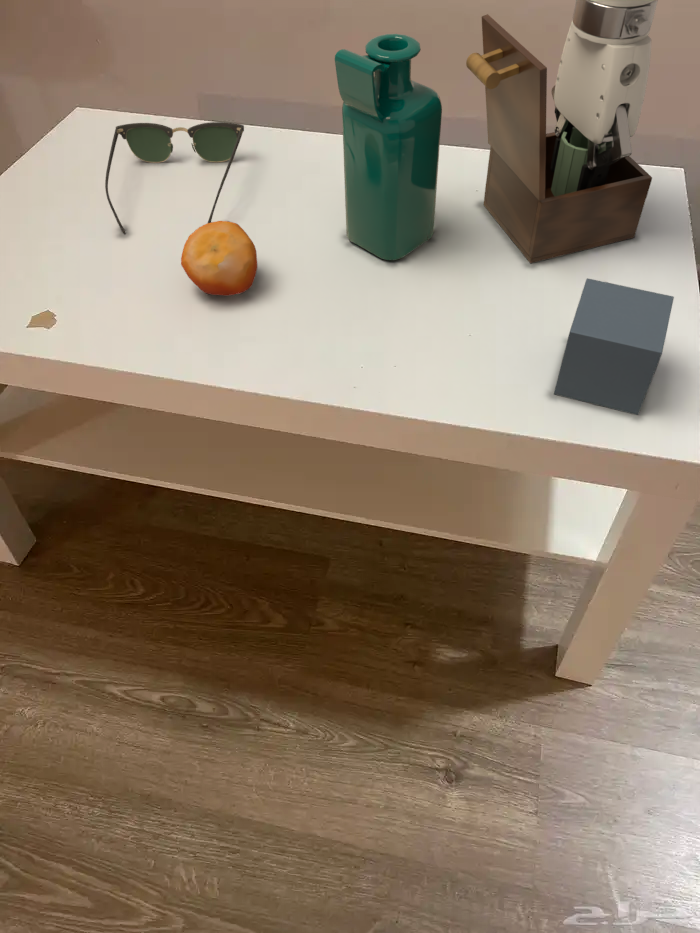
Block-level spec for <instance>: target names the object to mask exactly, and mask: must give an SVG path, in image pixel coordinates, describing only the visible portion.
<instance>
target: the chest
mask: <svg viewBox="0 0 700 933" xmlns="http://www.w3.org/2000/svg"><path fill="white" fill-rule="evenodd" d="M556 138H559V137H556V135H555V131H552V132H546V173H545V199H543V200H540V201H539V200H538V199H537V198H536V197H535V196H534V194H533V193H532V192H531V191H530V190H529V189H528V188H527V186H526V185H525V184H524V183H523V182H522V181H521V180H520V179H519V177H518V176H517V175H516V174H515V173H514V172H513V171H512V170H511V168H510V167H509V166H508V165H507V164H506V163H505V162H504V161H503V159H502V158H501V157H500V156H499V155H498V154H497V153H496V151H495V150H494V149H493V148H492V147H491V146H490V145H489V146H490V148H489V155H488V163H487V172H486V179H485V187H484V196H483V206H484V208H485V209H486V210H487V211H488V213H489V214H490V215H491V216H492V217H493V219H494V220H495V221H496V222H497V224H498V225H499V226H500V228H501V229H502V230H503V231H504V232H505V234H506V235H507V236H508V238H509V239H510V240H511V241H512V242H513V244H514V245H515V246H516V248H517V249H518V250H519V251H520V253H521V254H522V255H523V256H524V258H525V259H526V260H527V262H529V264H534V263H538V262H541V261H546V260H549V259H553V258H554V259H555V258H557V257H562V256H565V255H570V254H573V253H578V252H582V251H586V250H590V249H595V248H599V247H603V246H607V245H610V244H614V243H618V242H623V241H626V240H630V239H634V238H635V237H636V233H637V230H638V227H639V223H640V220H641V217H642V213H643V210H644V207H645V203H646V200H647V198H648V194H649V190H650V187H651V184H652V180H653V177H652V176H651V175H650V174H649V172H647V171H646V170H645V169H644V168H643V167H642V166H641V165H640V164H639V163H638V162H636V161H635V160H634V159H633V158H632V157H631V155H630V156H628V157H625V158H622V159H620V160H618V161H616V162H615V163H614V164H613V165H610V168H609V172H608V175H607V179H606V183H605V185H602V186H597V187H593V188H589V189H585V190H580V191H576V192H572V193H567V194H563V195H559V196H554V195H553V193H552V191H551V187H552V182H553V177H554V172H552V171H551V169H550V167H551V162H552V157H553V151H554V146H555V141H556Z"/></svg>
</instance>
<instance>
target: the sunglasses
mask: <svg viewBox="0 0 700 933" xmlns="http://www.w3.org/2000/svg"><path fill="white" fill-rule="evenodd" d="M177 132H185V133H187V134H188V136H189V138H190V139H192V142H191V143H190V144H191V147H192V150H193V152H194V153H196V154H197V155H198V156H199V157H200V158H201V159H202V160H204V161H206V162H210V163H224V162H227V161H228V164H227V166H226V169H225V172H224V174H223V177H222V178H221V182H220V185H219V187H218V191H217V193H216V196H215V199H214V203H213V206H212V209H211V211H210V215H209V218H208V221H207V223H211V222H212V220H213V217H214V212H215V209H216V206H217V203H218V200H219V197H220V194H221V192H222V190H223V187H224V185H225V182H226V179H227V177H228V174H229V171H230V168H231V167H232V166H231V165H232V163H233V161H234V158H235V155H236V153H237V149H238V147H239V145H240V142H241V140H242V136H243V133H244V132H245V125H244V124H240V123H235V122H225V121H211V122H204V123H199V124H195V125H193V126H191V127H189V128H186V127H181V126H179V127H178V126H177V127H175V128H172V127H170V126H168V125H164V124H160V123H155V122H154V123H153V122H134V123H133V122H131V123H125V124H120V125H116V126H115V130H114V133H113V138H112V141H111V146H110V151H109V156H108V161H107V166H106V173H105V183H104V186H105V187H104V189H105V195H106V199H107V202H108V205H109V207H110V209H111V212H112V214H113V216H114V218H115V220H116V222H117V224H118V227H119V228H120V230H121V233H122V234H125V233H126V231H125V228H124V226H123V224H122V223H121V221H120V219H119V216H118V215H117V212H116V210H115V208H114V205H113V203H112V200H111V198H110V194H109V180H110V179H109V178H110V171H111V166H112V162H113V157H114V154H115V148H116V145H117V141H118V138H119V135H120V136H121V138H122V139H123V140H126V143H127V145H128V147H129V149H130V151H131V153H132V154H133V155H134V156H135V157H136V158H137V159H139V160H140V161H143V162H147V163H151V164H155V163H164V162H167V160H168V159H169V158H170V156H171V154H172V153H173V150H174V144H173V143H172V138H173V136H174V133H177Z"/></svg>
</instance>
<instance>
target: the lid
mask: <svg viewBox="0 0 700 933" xmlns="http://www.w3.org/2000/svg"><path fill="white" fill-rule="evenodd" d="M481 31H482V33H481V34H482V35H481V36H482V52H483V54H480V53H479V52H472V53H470V54H469V56H468V57H467V58H466V61H465V66H466V68H467V69H468V70H469V71H470V72H471V73H472V74H473V75H474V76H475V77H476V79H478V80H479V82H481V83H482V84H483V85H484V88H485V89H484V90H485V110H486V111H485V112H486V128H487V144H488V145H489V146H491V147H492V148H493V149H494V150H495V151H496V153H497V154H498V155H499V156H500V157H501V158H502V159H503V161H504V162H505V163H506V164H507V165H508V166H509V167H510V168H511V170H512V171H513V172H514V173H515V174H516V175H517V176H518V177H519V179H520V180H521V181H522V182H523V183H524V184H525V185H526V186H527V188H528V189H529V190H530V191H531V192H532V193H533V194H534V196H535V197H536V198H537V199H538V200H539V201H540V200H543V199H545V173H546V134H547V101H548V100H547V98H548V95H547V94H548V93H547V91H548V88H547V87H548V86H547V85H548V68H547V66H546V65H545V64H544V63H542V62H541V60H539V59H538V58H537V57H536V56H535V55H534V54H533V53H531V52H530V51H529V50H528V49H527V48H526V47H525V46H524V45H523V44H521V43H520V42H519V41H518V40H517V39H516V38H515V37H514V36H512V35H511V33H509V32H508V31H507V30H506V29H505V28H504V27H503V26H501V25H500V23H498V22H497V21H496V20H495V19H494V18H492V16H491V15H489V13H487V14H484V15H481Z"/></svg>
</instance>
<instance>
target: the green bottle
mask: <svg viewBox="0 0 700 933" xmlns="http://www.w3.org/2000/svg"><path fill="white" fill-rule="evenodd" d="M364 47H365V53H366V54H367V55H361V54H358V53H356V52H353V51H351V50H349V49H346V48H342V49H339V50H338V51H337V52H336V53H335V55H334V66H335V73H336V80H337V81H336V82H337V88H338V92H339V95H340V98H341V100H342V101H343V102H342V105H341V109H342V110H341V118H342V119H341V120H342V145H343V146H342V147H343V149H342V150H343V170H344V171H343V173H344V174H343V175H344V203H345V204H344V205H345V231H346V232H345V233H346V234H345V235H346V238H347V239H348V241H349V242H351V243H353V244H355V245H357V246H358V247H360V248H362V249H363V250H365V251H367V252H369V253H371V254H372V255H374V256H376V257H378V258H380V260H381V259H382V260H384V261H385V260H386V261H399V260H401V259H402V258H404V257H406V256H407V255H409V254H410V253H411V252H413V251H414V250H416V249H418V248H419V247H420V246H422V245H423V244H425V243H426V242H428V241H429V240H431V238H432V236H433V235H434V233H435V220H436V219H435V218H436V204H437V203H436V202H437V189H438V175H439V174H438V173H439V162H440V161H439V160H440V159H439V158H440V145H441V131H442V114H443V106H442V105H443V104H442V100H441V97H440V95H439V93H438V92H437V91H436V90H435V89H433V88H432V87H429V86H426V85H424V84H422V83H419V82H417V81H415V80H412V78H411V74H412V59H414V58H416V57H417V56H418V55H419V53H420V52H421V51H422V50H421V43H420V42H419V41H418V40H417V39H415V38H414V37H412V36H410V35H407V34H401V33H385V34H381V35H377V36H375V37H373V38H371V39H370V40H369V41H367V43H366V44H365V46H364Z"/></svg>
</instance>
